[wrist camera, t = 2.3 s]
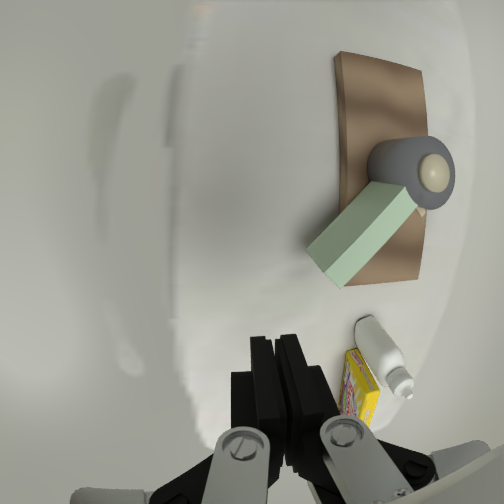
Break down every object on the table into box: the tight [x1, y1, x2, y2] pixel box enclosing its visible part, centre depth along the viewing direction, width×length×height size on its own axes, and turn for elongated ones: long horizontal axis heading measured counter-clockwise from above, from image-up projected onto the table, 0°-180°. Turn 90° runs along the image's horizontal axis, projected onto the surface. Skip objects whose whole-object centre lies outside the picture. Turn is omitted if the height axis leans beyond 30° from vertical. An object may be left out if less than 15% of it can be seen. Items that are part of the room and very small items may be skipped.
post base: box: [334, 51, 428, 286], centre depth 25 cm, size 24×10×2 cm, turn 1°
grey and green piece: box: [305, 136, 455, 289], centre depth 21 cm, size 15×6×7 cm, turn 136°
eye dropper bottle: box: [355, 316, 414, 399], centre depth 26 cm, size 4×6×12 cm
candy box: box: [338, 349, 380, 427], centre depth 31 cm, size 16×2×8 cm, turn 5°
